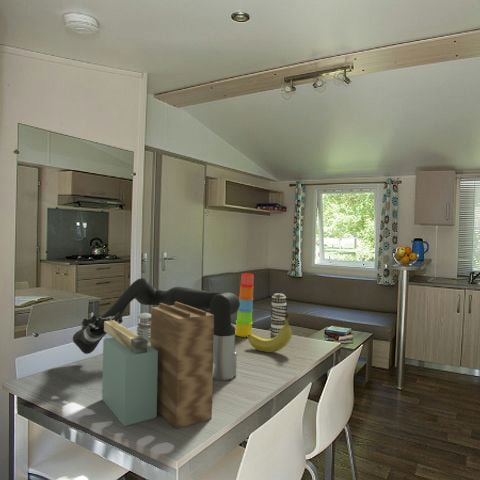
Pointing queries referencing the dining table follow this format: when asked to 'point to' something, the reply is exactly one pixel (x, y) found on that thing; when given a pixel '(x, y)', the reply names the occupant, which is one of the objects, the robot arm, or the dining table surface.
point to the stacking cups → (245, 306)
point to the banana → (273, 343)
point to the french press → (144, 327)
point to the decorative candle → (277, 313)
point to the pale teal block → (129, 382)
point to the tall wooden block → (183, 362)
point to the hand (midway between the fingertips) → (107, 316)
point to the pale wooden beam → (126, 337)
